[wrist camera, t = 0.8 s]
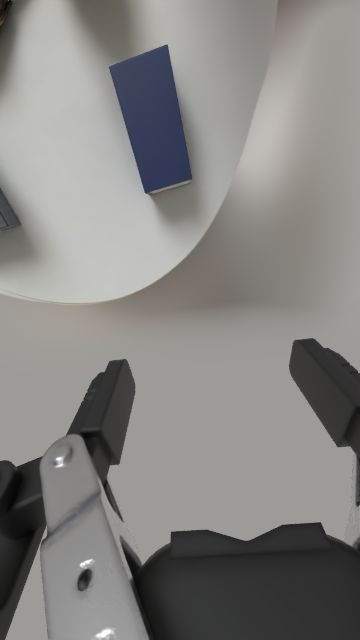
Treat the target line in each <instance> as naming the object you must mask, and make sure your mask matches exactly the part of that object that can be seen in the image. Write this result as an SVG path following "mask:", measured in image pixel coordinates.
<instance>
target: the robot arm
mask: <svg viewBox="0 0 360 640" xmlns="http://www.w3.org/2000/svg"><path fill="white" fill-rule="evenodd" d="M289 369H290V373H291V376H292V378H293V380H294V381H295V383H296V384H297V386H298V387H299V389H300V390H301V392H302V393H303V395H304V396H305V398H306V400H307V401H308V403H309V404H310V406H311V407H312V409H313V410H314V411H315V413H316V415H317V416H318V418H319V419H320V421H321V422H322V424H323V425H324V427H325V429H326V430H327V432H328V433H329V435H330V436H331V438H332V439H333V441H334V442H335V444H336V445H337V447H346V446H350V447H351V448H352V449H353V451H354V452H355V454H354V456H353V469H352V493H351V510H350V516H349V519H348V523H347V527H346V533H345V542H343V541H341V540H339V539H337V538H334V537H332V536H330V535H326V533H325V531H324V529H323V526H322V524H321V522H319V523H304V524H288V525H281V526H279V527H277V528H275V529H273V530H271V531H269V532H267V533H265V534H262V535H260V536H258V537H256V538H254V539H252V540H249V541H243V540H239V539H236V538H233V537H230V536H226V535H223V534H220V533H216V532H213V531H209V530H192V531H176V532H171V543H169V544H166V545H165V546H163V547H162V548H160V549H159V550H157V551H156V552H155V553H154V554H153V555H152V556H151V557H149V558H148V560H147V561H146V562H145V563H144V561H143V559H142V556H141V554H140V551H139V549H138V547H137V544H136V543H135V540H134V538H133V536H132V534H131V532H130V530H129V529H128V526H127V524H126V522H125V519H124V517H123V514H122V512H121V509H120V507H119V504H118V502H117V499H116V497H115V494H114V492H113V489H112V487H111V484H110V482H109V479H108V477H107V474H108V471H109V467H110V465H118V464H119V463H120V459H121V454H122V450H123V445H124V441H125V436H126V432H127V427H128V423H129V418H130V413H131V409H132V404H133V400H134V395H135V382H134V379H133V376H132V373H131V370H130V367H129V364H128V361H127V360H126V359H122V360H113V361H110V362H109V364H108V366H107V368H106V371H105V372H102V373H99V374H98V375H97V377H96V378H95V379H94V380H93V381H92V382H91V384H90V386H89V388H88V392H87V393H86V395H85V397H84V401H82V403H81V405H80V408H79V409H78V412H77V414H76V416H75V418H74V420H73V422H72V424H71V426H70V428H69V431H68V433H67V434H66V436H64V437H62V438H60V439H58V440H57V441H56V442H54V443H53V444H52V445H51V446H50V447H49V448H48V450H47V451H46V452H45V454H44V455H43V456H42V457H40V458H37V459H35V460H32V461H30V462H27V463H25V464H22V465H20V466H17V467H16V466H15V465H13V464H12V463H11V462H10V461H0V640H5V638H6V635H7V633H8V630H9V627H10V624H11V622H12V619H13V616H14V613H15V610H16V608H17V605H18V602H19V600H20V597H21V594H22V591H23V588H24V585H25V583H26V580H27V577H28V575H29V572H30V569H31V566H32V564H33V561H34V558H35V556H36V553H37V550H38V547H39V544H40V542H41V539H42V536H43V533H44V530H45V528H46V525H47V537H46V538H45V539H44V540H43V541H42V543H41V547H40V562H41V572H42V582H43V593H44V602H45V613H46V623H47V633H48V640H360V373H358V371H357V370H356V369H355V368H354V367H353V366H350V364H349V362H347V361H346V360H345V359H344V358H343V357H342V356H341V355H340V354H338V353H336V352H334V351H332V350H330V349H329V348H323V347H322V346H321V345H320V344H319V343H318V342H317V341H316V340H315V339H313V338H310V339H302V340H295V341H294V342H293V346H292V352H291V358H290V364H289Z"/></svg>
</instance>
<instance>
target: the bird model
mask: <svg viewBox="0 0 360 640" xmlns="http://www.w3.org/2000/svg"><path fill="white" fill-rule="evenodd" d="M11 4H12V1H11V0H9V1H8V0H0V27H1V25H2V24H3V22H4V20H5V19H6V16H7V11H8V9H9V7H10V6H11Z"/></svg>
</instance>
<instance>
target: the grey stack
mask: <svg viewBox="0 0 360 640" xmlns="http://www.w3.org/2000/svg"><path fill="white" fill-rule="evenodd" d="M19 225H21V224H20V222H19V220H18V218H17V217H16V215H15V213H14V212H13V210H12V208H11V206H10V205H9V203H8V201H7V199H6V198H5V196H4V194H3V192H2V191H1V189H0V231H3V230H6V229H9V228H12V227H16V226H19Z"/></svg>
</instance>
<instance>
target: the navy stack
mask: <svg viewBox="0 0 360 640" xmlns="http://www.w3.org/2000/svg"><path fill="white" fill-rule="evenodd" d="M109 68H110V72H111V75H112V79H113V82H114V86H115V89H116V93H117V96H118V100H119V103H120V107H121V110H122V114H123V117H124V121H125V124H126V128H127V131H128V135H129V139H130V142H131V146H132V149H133V153H134V156H135V160H136V163H137V167H138V170H139V174H140V177H141V181H142V184H143V188H144V191H145V193H146V194H149V195H150V194H154V193H157V192H160V191H164V190H167V189H170V188H174V187H177V186H181V185H184V184H187V183H190V182H191V180H192V175H191V170H190V164H189V159H188V154H187V148H186V143H185V137H184V132H183V126H182V121H181V115H180V110H179V104H178V99H177V93H176V88H175V83H174V77H173V72H172V66H171V61H170V55H169V50H168V45H164V46H162V47H159V48H156V49H154V50H151V51H149V52H146V53H143V54H141V55H138V56H135V57H133V58H130V59H127V60H125V61H122V62H120V63H117V64H114V65H112V66H109Z"/></svg>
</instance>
